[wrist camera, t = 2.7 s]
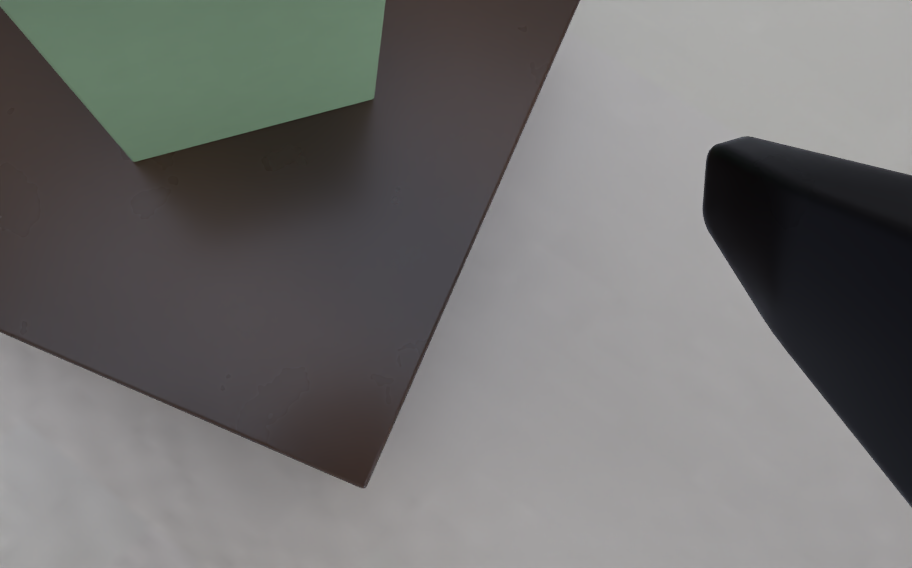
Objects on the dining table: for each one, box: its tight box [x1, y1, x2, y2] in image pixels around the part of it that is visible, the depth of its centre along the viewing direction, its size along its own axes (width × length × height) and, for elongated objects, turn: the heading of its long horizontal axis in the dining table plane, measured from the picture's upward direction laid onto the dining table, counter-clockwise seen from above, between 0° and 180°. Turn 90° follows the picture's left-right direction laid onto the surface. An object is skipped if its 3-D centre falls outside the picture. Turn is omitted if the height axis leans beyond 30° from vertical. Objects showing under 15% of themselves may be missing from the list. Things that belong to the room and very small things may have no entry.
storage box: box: [0, 0, 580, 488], centre depth 19 cm, size 12×12×4 cm
